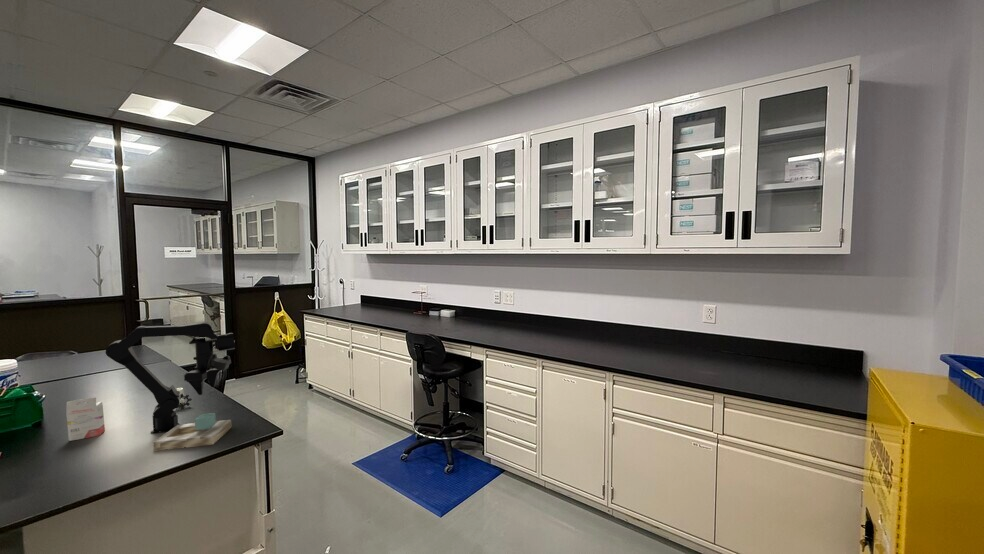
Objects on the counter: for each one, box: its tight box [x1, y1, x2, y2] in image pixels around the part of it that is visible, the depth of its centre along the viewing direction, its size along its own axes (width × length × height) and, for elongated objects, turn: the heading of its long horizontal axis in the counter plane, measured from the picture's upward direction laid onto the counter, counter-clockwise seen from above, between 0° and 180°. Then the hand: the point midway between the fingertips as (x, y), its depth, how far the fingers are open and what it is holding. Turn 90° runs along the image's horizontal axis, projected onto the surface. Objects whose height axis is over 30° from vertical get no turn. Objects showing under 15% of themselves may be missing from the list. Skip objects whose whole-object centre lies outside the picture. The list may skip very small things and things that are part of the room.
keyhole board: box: [152, 419, 232, 451], centre depth 138 cm, size 18×14×3 cm
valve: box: [175, 387, 193, 409], centre depth 171 cm, size 7×7×12 cm
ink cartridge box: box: [65, 397, 106, 442], centre depth 142 cm, size 9×5×15 cm, turn 117°
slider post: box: [194, 412, 217, 431], centre depth 139 cm, size 6×6×7 cm
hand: (206, 390), depth 154 cm, fingers open, 9 cm apart
